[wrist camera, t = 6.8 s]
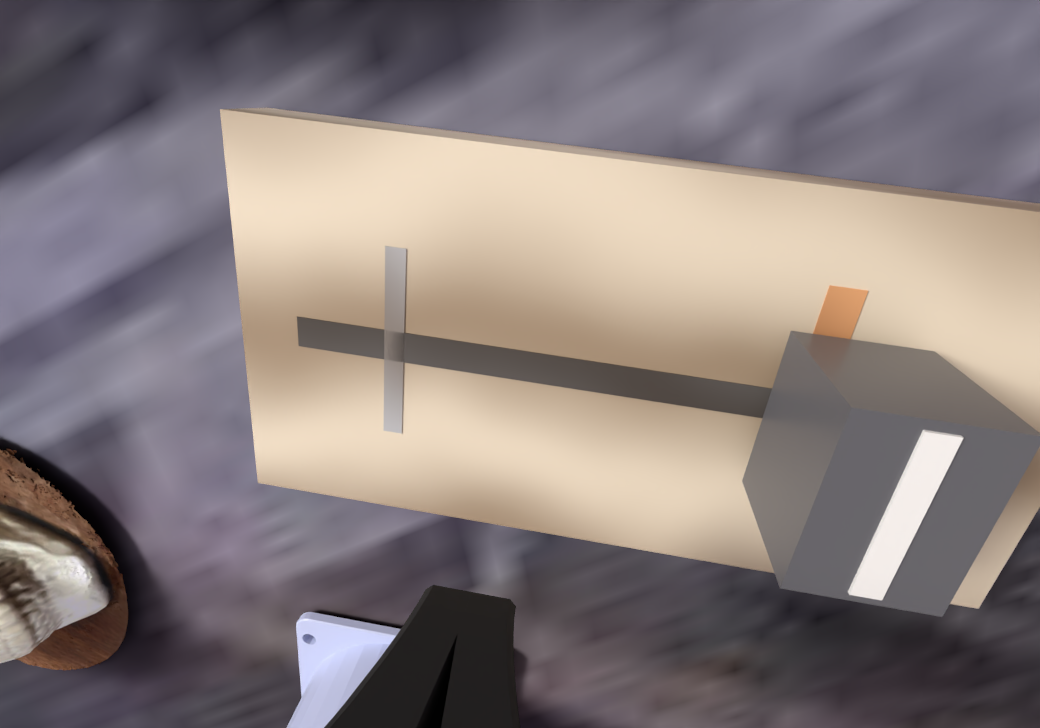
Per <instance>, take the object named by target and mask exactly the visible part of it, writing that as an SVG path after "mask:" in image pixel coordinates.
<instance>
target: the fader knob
mask: <svg viewBox="0 0 1040 728" xmlns="http://www.w3.org/2000/svg"><path fill="white" fill-rule="evenodd" d="M1039 447H1040V433H1039V432H1038V431H1037V430H1035V429H1034V428H1033V427H1032V426H1030V425H1029V424H1028V423H1026V422H1025V421H1024V420H1023V419H1021V418H1020V417H1019V416H1017V415H1016V414H1015V413H1014V412H1012V411H1011V410H1010V409H1008V408H1007V407H1006V406H1005V405H1003V404H1002V403H1001V402H999V401H998V400H997V399H996V398H994V397H993V396H992V395H990V394H989V393H988V392H987V391H985V390H984V389H983V388H981V387H980V386H979V385H977V384H976V383H975V382H974V381H972V380H971V379H970V378H968V377H967V376H966V375H965V374H963V373H962V372H961V371H959V370H958V369H957V368H956V367H954V366H953V365H952V364H950V363H949V362H948V361H947V360H945V359H944V358H943V357H941V356H940V355H939V354H938V353H936V352H935V351H929V350H922V349H915V348H909V347H902V346H895V345H888V344H881V343H874V342H867V341H860V340H853V339H846V338H839V337H832V336H825V335H818V334H811V333H804V332H797V331H791V332H790V335H789V338H788V341H787V344H786V347H785V351H784V354H783V357H782V360H781V363H780V366H779V369H778V372H777V375H776V378H775V381H774V384H773V387H772V390H771V394H770V397H769V400H768V403H767V406H766V409H765V412H764V415H763V418H762V421H761V424H760V427H759V430H758V433H757V437H756V440H755V443H754V446H753V449H752V452H751V455H750V458H749V461H748V464H747V467H746V470H745V473H744V476H743V480H742V482H743V485H744V488H745V491H746V494H747V496H748V499H749V502H750V505H751V508H752V511H753V513H754V516H755V519H756V522H757V525H758V528H759V530H760V533H761V536H762V539H763V542H764V545H765V547H766V550H767V553H768V556H769V559H770V562H771V564H772V567H773V570H774V573H775V576H776V579H777V581H778V584H779V587H780V588H781V589H787V590H792V591H798V592H804V593H809V594H815V595H820V596H826V597H832V598H837V599H843V600H849V601H854V602H860V603H866V604H871V605H877V606H883V607H888V608H894V609H900V610H905V611H911V612H917V613H922V614H928V615H934V616H939V617H943V615H944V613H945V612H946V610H947V608H948V606H949V605H950V603H951V601H952V599H953V598H954V596H955V594H956V592H957V591H958V589H959V587H960V585H961V584H962V582H963V580H964V578H965V577H966V575H967V573H968V571H969V570H970V568H971V566H972V564H973V562H974V561H975V559H976V557H977V555H978V554H979V552H980V550H981V548H982V547H983V545H984V543H985V541H986V540H987V538H988V536H989V534H990V533H991V531H992V529H993V527H994V526H995V524H996V522H997V520H998V519H999V517H1000V515H1001V513H1002V512H1003V510H1004V508H1005V506H1006V505H1007V503H1008V501H1009V499H1010V498H1011V496H1012V494H1013V492H1014V491H1015V489H1016V487H1017V485H1018V484H1019V482H1020V480H1021V478H1022V477H1023V475H1024V473H1025V471H1026V470H1027V468H1028V466H1029V464H1030V463H1031V461H1032V459H1033V457H1034V456H1035V454H1036V452H1037V450H1038V449H1039Z"/></svg>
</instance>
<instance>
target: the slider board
mask: <svg viewBox="0 0 1040 728" xmlns="http://www.w3.org/2000/svg"><path fill="white" fill-rule="evenodd" d="M220 114H221V124H222V134H223V143H224V153H225V163H226V173H227V183H228V193H229V202H230V212H231V222H232V232H233V242H234V251H235V261H236V271H237V281H238V291H239V301H240V310H241V320H242V330H243V340H244V350H245V360H246V369H247V379H248V389H249V399H250V409H251V418H252V428H253V438H254V448H255V458H256V468H257V477H258V483H262V484H268V485H274V486H279V487H285V488H291V489H296V490H302V491H308V492H314V493H319V494H325V495H331V496H337V497H342V498H348V499H354V500H359V501H365V502H371V503H377V504H382V505H388V506H394V507H399V508H405V509H411V510H417V511H422V512H428V513H434V514H439V515H445V516H451V517H457V518H462V519H468V520H474V521H479V522H485V523H491V524H497V525H502V526H508V527H514V528H519V529H525V530H531V531H537V532H542V533H548V534H554V535H559V536H565V537H571V538H577V539H582V540H588V541H594V542H599V543H605V544H611V545H617V546H622V547H628V548H634V549H639V550H645V551H651V552H657V553H662V554H668V555H674V556H679V557H685V558H691V559H697V560H702V561H708V562H714V563H719V564H725V565H731V566H737V567H742V568H748V569H754V570H759V571H765V572H771V573H774V570H773V567H772V564H771V562H770V559H769V556H768V553H767V550H766V547H765V545H764V542H763V539H762V536H761V533H760V530H759V528H758V525H757V522H756V519H755V516H754V513H753V511H752V508H751V505H750V502H749V499H748V496H747V494H746V491H745V488H744V485H743V482H742V480H743V476H744V473H745V470H746V467H747V464H748V461H749V458H750V455H751V452H752V449H753V446H754V443H755V440H756V437H757V433H758V430H759V427H760V424H761V421H762V418H763V415H764V412H765V409H766V406H767V403H768V400H769V397H770V394H771V390H772V387H773V384H774V381H775V378H776V375H777V372H778V369H779V366H780V363H781V360H782V357H783V354H784V351H785V347H786V344H787V341H788V338H789V335H790V332H791V331H797V332H804V333H811V334H818V335H825V336H832V337H839V338H846V339H853V340H860V341H867V342H874V343H881V344H888V345H895V346H902V347H909V348H915V349H922V350H929V351H935V352H936V353H938V354H939V355H940V356H941V357H943V358H944V359H945V360H947V361H948V362H949V363H950V364H952V365H953V366H954V367H956V368H957V369H958V370H959V371H961V372H962V373H963V374H965V375H966V376H967V377H968V378H970V379H971V380H972V381H974V382H975V383H976V384H977V385H979V386H980V387H981V388H983V389H984V390H985V391H987V392H988V393H989V394H990V395H992V396H993V397H994V398H996V399H997V400H998V401H999V402H1001V403H1002V404H1003V405H1005V406H1006V407H1007V408H1008V409H1010V410H1011V411H1012V412H1014V413H1015V414H1016V415H1017V416H1019V417H1020V418H1021V419H1023V420H1024V421H1025V422H1026V423H1028V424H1029V425H1030V426H1032V427H1033V428H1034V429H1035V430H1037V431H1038V432H1039V433H1040V204H1038V203H1030V202H1022V201H1014V200H1006V199H997V198H989V197H981V196H973V195H965V194H957V193H949V192H941V191H933V190H925V189H917V188H909V187H901V186H893V185H885V184H877V183H869V182H861V181H853V180H845V179H837V178H829V177H820V176H812V175H804V174H796V173H788V172H780V171H772V170H764V169H756V168H748V167H740V166H732V165H724V164H716V163H708V162H700V161H692V160H684V159H676V158H668V157H660V156H652V155H644V154H635V153H627V152H619V151H611V150H603V149H595V148H587V147H579V146H571V145H563V144H555V143H547V142H539V141H531V140H523V139H515V138H507V137H499V136H491V135H483V134H475V133H467V132H458V131H450V130H442V129H434V128H426V127H418V126H410V125H402V124H394V123H386V122H378V121H370V120H362V119H354V118H346V117H338V116H330V115H322V114H314V113H306V112H298V111H290V110H282V109H273V108H246V109H220ZM1039 507H1040V447H1039V449H1038V450H1037V452H1036V454H1035V456H1034V457H1033V459H1032V461H1031V463H1030V464H1029V466H1028V468H1027V470H1026V471H1025V473H1024V475H1023V477H1022V478H1021V480H1020V482H1019V484H1018V485H1017V487H1016V489H1015V491H1014V492H1013V494H1012V496H1011V498H1010V499H1009V501H1008V503H1007V505H1006V506H1005V508H1004V510H1003V512H1002V513H1001V515H1000V517H999V519H998V520H997V522H996V524H995V526H994V527H993V529H992V531H991V533H990V534H989V536H988V538H987V540H986V541H985V543H984V545H983V547H982V548H981V550H980V552H979V554H978V555H977V557H976V559H975V561H974V562H973V564H972V566H971V568H970V570H969V571H968V573H967V575H966V577H965V578H964V580H963V582H962V584H961V585H960V587H959V589H958V591H957V592H956V594H955V596H954V598H953V599H952V601H951V603H950V604H954V605H959V606H965V607H971V608H977V609H979V607H980V605H981V604H982V602H983V600H984V599H985V597H986V595H987V594H988V592H989V590H990V589H991V587H992V585H993V584H994V582H995V580H996V579H997V577H998V575H999V574H1000V572H1001V570H1002V569H1003V567H1004V565H1005V564H1006V562H1007V560H1008V559H1009V557H1010V556H1011V554H1012V552H1013V551H1014V549H1015V547H1016V546H1017V544H1018V542H1019V541H1020V539H1021V537H1022V536H1023V534H1024V532H1025V531H1026V529H1027V527H1028V526H1029V524H1030V522H1031V521H1032V519H1033V517H1034V516H1035V514H1036V512H1037V511H1038V509H1039Z"/></svg>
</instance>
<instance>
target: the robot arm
mask: <svg viewBox="0 0 1040 728" xmlns="http://www.w3.org/2000/svg"><path fill="white" fill-rule="evenodd" d="M515 608H516V606H515V605H514V604H513V602H512V601H511V600H510V599H506V598H500V597H495V596H489V595H484V594H479V593H473V592H468V591H463V590H457V589H452V588H447V587H441V586H436V585H433V586H431V587H429V588H427V589H426V590H425V592H424V594H423V595H422V597H421V599H420V600H419V602H418V604H417V605H416V607H415V608H414V610H413V612H412V613H411V615H410V616H409V618H408V619H407V621H406V622H405V624H404V625H403V627H402V628H401V629H398V628H393V627H388V626H383V625H378V624H372V623H367V622H362V621H357V620H351V619H346V618H341V617H336V616H330V615H325V614H320V613H315V612H306V613H303V614H302V615H301V616H300V618H299V620H298V621H297V624H296V631H297V643H298V656H299V669H300V682H301V695H302V698H301V700H300V702H299V704H298V706H297V708H296V710H295V712H294V714H293V716H292V718H291V720H290V722H289V724H288V726H287V728H520V721H519V714H518V706H517V696H516V686H515V671H514V651H513V631H514V615H515Z"/></svg>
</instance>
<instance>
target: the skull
mask: <svg viewBox="0 0 1040 728" xmlns="http://www.w3.org/2000/svg"><path fill="white" fill-rule="evenodd" d="M6 450H7V451H8V452H9V453H8V452H7V451H5V450H0V663H3V662H6V661H10V660H14V659H16V660H20V661H22V662H24V663H26V664H28V665H33V666H40V667H42V668H49V669H57V670H59V669H63V670H71V669H74V670H76V669H81V668H88V667H91V666H93V665H96V664H98V663H99V664H100V663H101V662H103V661H105V660H106V659H108V658H109V657H110V656H111V655H113V654H114V653H115V652H116V651H117V650H118V648H119V646H120V645H121V643H122V641H123V640H124V637H125V633H126V630H127V623H128V605H127V595H126V591H125V586H124V581H123V574H119V571H118V570H117V568H116V567H118V564H117V563H116V562H115V560H114V557H113V555H112V553H111V552H110V550H109V549H107V547H105V544H104V543H103V541H102V539H101V538H100V537H99V535H97V534H95V531H94V529H93V528H92V527H91V525H90V524H88V521H87V520H85V519H83V518H82V517H81V516H80V515H79V513H78V512H77V511H75V510H74V507H75V506H74V505H71V503H72V502H71V501H67V500H66V499H65V498H63V496H61V495H60V494H59V493H60V491H59V490H58V489H54V487H55V485H51V486H52V487H50V482H49V481H48V480H44V477H43V479H41V478H40V476H39V475H38V473H37V472H33V471H32V470H31V469H32V468H28V467H26V465H25V462H24V460H23V457H22V458H20V459H19V460H20V461H18V460H17V459H16V457H14V456H12V455H14V454H15V453H16V452H17V451H15V450H13V451H12V450H11V449H6ZM38 470H39V469H38ZM39 471H40V470H39ZM25 486H26V487H25ZM61 494H62V493H61ZM89 661H90V662H89Z"/></svg>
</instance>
